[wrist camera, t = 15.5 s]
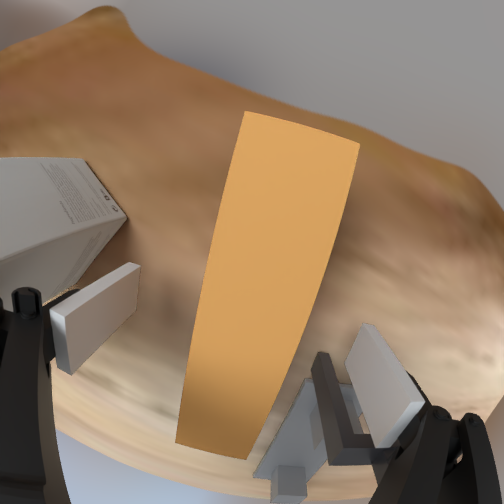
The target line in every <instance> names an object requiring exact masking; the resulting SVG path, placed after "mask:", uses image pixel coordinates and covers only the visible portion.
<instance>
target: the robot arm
mask: <svg viewBox="0 0 504 504" xmlns="http://www.w3.org/2000/svg"><path fill="white" fill-rule="evenodd" d="M140 270H141V266H140V265H137V264H134V263H131V262H128V263H126V264H124V265H123V266H121V267H119V268H117V269H116V270H114V271H112V272H110V273H109V274H107V275H105V276H103V277H102V278H100V279H98V280H97V281H95V282H93V283H92V284H90V285H88V286H86V287H85V288H83V289H81V290H80V289H75V290H71V291H68V292H66V293H65V294H63V295H62V296H59V297H58V298H56V299H54V300H53V301H51V302H49V303H48V304H46V305H44V306H43V307H42V296H41V292H40V291H39V290H37V289H35V288H32V287H21V288H17V289H15V290H14V291H13V292H12V293H11V297H12V305H13V312H11V311H8V310H5V309H4V307H3V300H2V299H1V298H0V504H71V502H70V498H69V495H68V491H67V488H66V484H65V480H64V476H63V471H62V467H61V462H60V457H59V452H58V445H57V439H56V432H55V424H54V414H53V402H52V383H51V364H50V361H51V360H52V359H53V358H54V357H56V363H57V368H59V369H61V370H63V371H64V372H66V373H68V374H70V375H71V376H72V374H73V373H74V372H75V371H76V370H77V369H78V368H79V367H80V366H81V365H82V364H83V363H84V362H85V361H86V360H87V359H88V358H89V357H90V356H91V355H92V354H93V353H94V352H95V351H96V350H97V349H98V348H99V347H100V346H101V345H102V344H103V343H104V342H105V341H106V340H107V339H108V338H109V337H110V336H111V335H112V334H113V333H114V332H115V331H116V330H117V329H118V328H119V327H120V326H121V325H122V324H123V323H124V322H125V321H126V320H127V319H128V318H129V317H130V316H131V315H132V314H133V313H134V312H135V311H136V308H137V297H138V287H139V279H140ZM344 364H345V367H346V369H347V372H348V374H349V377H350V380H351V382H352V385H353V387H354V390H355V393H356V395H357V398H358V401H359V403H360V406H361V409H362V412H363V414H364V417H365V420H366V423H367V425H368V428H369V431H370V434H371V437H372V440H373V443H374V446H375V448H389V447H391V446H392V444H393V443H394V442H395V441H396V440H397V438H398V440H399V442H400V445H399V446H398V447H397V448H396V450H395V451H394V452H393V453H392V454H391V455H390V456H389V457H388V458H387V460H386V461H389V460H390V459H391V458H392V459H391V461H390V463H389V465H388V467H387V469H386V471H385V473H384V476H383V478H382V479H381V481H380V483H379V485H378V487H377V489H376V491H375V493H374V494H373V496H372V498H371V500H370V502H369V504H502V498H501V492H500V485H499V480H498V475H497V470H496V465H495V461H494V457H493V453H492V449H491V445H490V442H489V438H488V435H487V431H486V428H485V425H484V422H483V420H482V419H481V418H480V416H477V414H473V413H466V414H465V415H464V417H463V418H462V419H461V420H460V421H458V420H453V419H452V417H451V415H450V413H449V412H448V411H447V410H446V409H444V408H442V407H440V406H432V405H431V403H430V401H429V400H428V398H427V397H426V395H425V394H424V392H423V391H422V390H421V388H420V386H419V385H418V383H417V382H416V380H415V379H414V377H413V376H412V375H410V374H409V373H408V372H407V371H405V369H404V368H403V366H402V365H401V363H400V362H399V360H398V359H397V357H396V356H395V354H394V353H393V352H392V350H391V349H390V347H389V346H388V344H387V343H386V341H385V340H384V339H383V337H382V336H381V334H380V333H379V331H378V330H377V329H376V327H375V326H374V325H370V324H365V323H362V326H361V328H360V330H359V333H358V335H357V337H356V339H355V341H354V344H353V346H352V348H351V350H350V352H349V354H348V356H347V358H346V360H345V362H344ZM462 453H463V456H462V460H461V461H460V462H459V463H457V458H458V457H459V456H460V455H461V454H462Z"/></svg>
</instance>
